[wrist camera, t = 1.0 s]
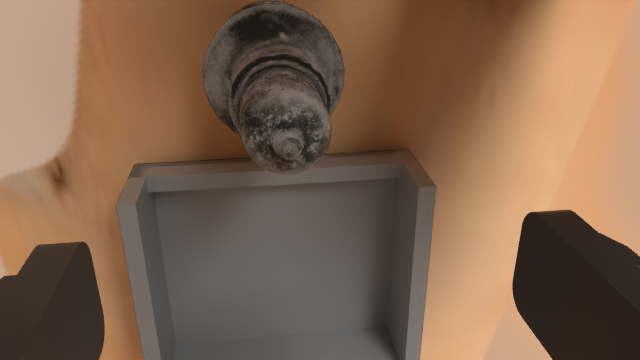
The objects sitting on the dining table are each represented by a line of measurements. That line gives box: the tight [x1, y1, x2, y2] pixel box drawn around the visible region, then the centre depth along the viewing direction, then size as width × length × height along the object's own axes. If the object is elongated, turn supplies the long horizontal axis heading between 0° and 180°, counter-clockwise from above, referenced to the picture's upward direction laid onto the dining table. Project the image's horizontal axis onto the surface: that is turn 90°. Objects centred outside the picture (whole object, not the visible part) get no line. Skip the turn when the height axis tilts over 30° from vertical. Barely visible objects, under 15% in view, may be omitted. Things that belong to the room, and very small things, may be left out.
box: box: [116, 150, 436, 360], centre depth 29 cm, size 12×14×4 cm
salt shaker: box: [203, 1, 344, 175], centre depth 21 cm, size 6×6×12 cm
